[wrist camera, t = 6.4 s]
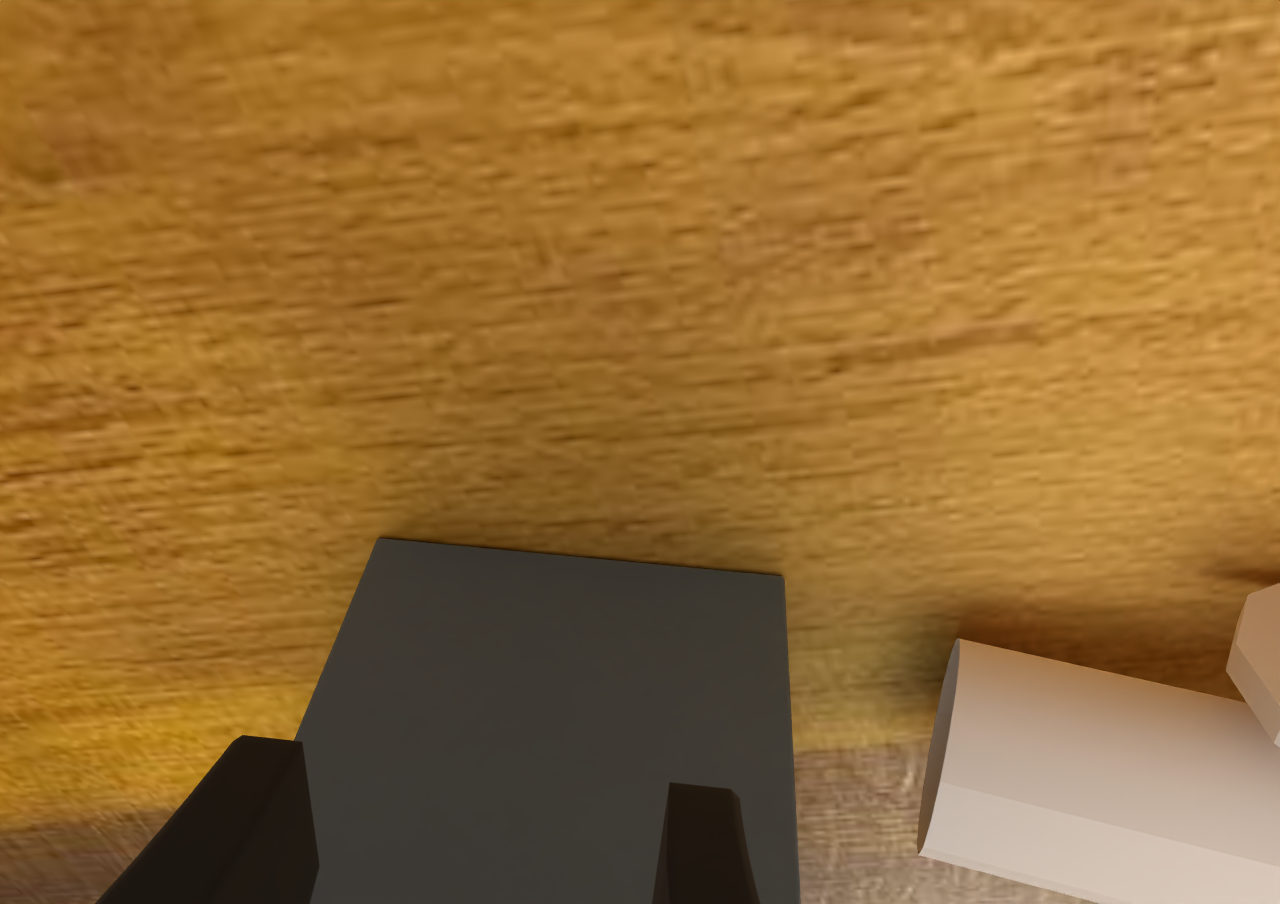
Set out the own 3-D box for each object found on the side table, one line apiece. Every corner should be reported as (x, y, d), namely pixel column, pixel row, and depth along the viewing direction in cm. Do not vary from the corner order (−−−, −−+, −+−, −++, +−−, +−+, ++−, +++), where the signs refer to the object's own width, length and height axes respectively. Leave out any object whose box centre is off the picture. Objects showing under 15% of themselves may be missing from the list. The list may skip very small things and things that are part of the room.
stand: (401, 797, 27) (272, 1229, 19) (376, 535, 22) (195, 971, 15) (738, 831, 26) (738, 1280, 19) (784, 574, 22) (808, 1035, 15)
